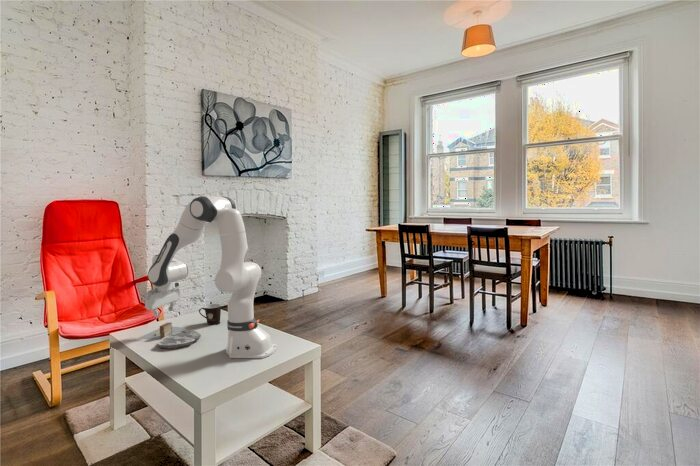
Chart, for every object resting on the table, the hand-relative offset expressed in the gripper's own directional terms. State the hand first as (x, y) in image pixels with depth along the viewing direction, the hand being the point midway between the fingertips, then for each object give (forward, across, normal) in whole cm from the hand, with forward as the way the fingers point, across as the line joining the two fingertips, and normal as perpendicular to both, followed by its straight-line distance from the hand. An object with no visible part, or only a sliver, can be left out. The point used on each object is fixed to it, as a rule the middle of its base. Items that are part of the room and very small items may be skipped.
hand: (164, 313), depth 183 cm
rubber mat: (+12, +4, +4) cm, 13 cm away
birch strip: (+12, +4, +5) cm, 13 cm away
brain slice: (+12, -5, -14) cm, 19 cm away
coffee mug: (+12, +23, -11) cm, 28 cm away
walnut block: (+12, 0, -1) cm, 12 cm away
